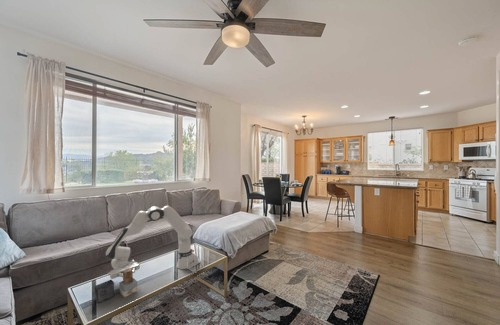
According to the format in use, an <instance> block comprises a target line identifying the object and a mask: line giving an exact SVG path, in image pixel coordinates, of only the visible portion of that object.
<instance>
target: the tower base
mask: <svg viewBox="0 0 500 325" xmlns="http://www.w3.org/2000/svg"><path fill="white" fill-rule="evenodd" d="M136 292H138V286H137V287H135V288H133V289H130V290H128V291H126V292H124V291H123V290H121V289H120V288H119V293H120V294H121V295H122V297H123V298H126V297H128V296H130V295H132V294H135V293H136Z"/></svg>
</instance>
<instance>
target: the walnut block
mask: <svg viewBox="0 0 500 325" xmlns="http://www.w3.org/2000/svg"><path fill="white" fill-rule="evenodd" d="M123 274H124V277H122V281H123V282H124V284H125V285H126V284H128V283H130V282H133V278H134V277H133V274H134V273H133V270H132V269H131V268H128V269H125V270H123Z"/></svg>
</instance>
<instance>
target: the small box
mask: <svg viewBox="0 0 500 325" xmlns="http://www.w3.org/2000/svg"><path fill="white" fill-rule="evenodd" d="M113 297H115V282H114V281H113V279H109V280H106V281H104V282H101V283H99V284H96V285H95V286H94V300H95V303H96V304H100V303H102V302H104V301H107V300H109V299H111V298H113Z"/></svg>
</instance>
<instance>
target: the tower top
mask: <svg viewBox="0 0 500 325" xmlns="http://www.w3.org/2000/svg"><path fill="white" fill-rule="evenodd" d="M118 283H119V286H118V288H119V290H120V289H121V290H123V291H124V292H126V291H128V290H130V289H133V288H135V287H137V288H138V280H137V279H135V278H134V277H133V282H130V283H128V284H126V285H125V284H124V282H123V280H122V281H119V282H118Z"/></svg>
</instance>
